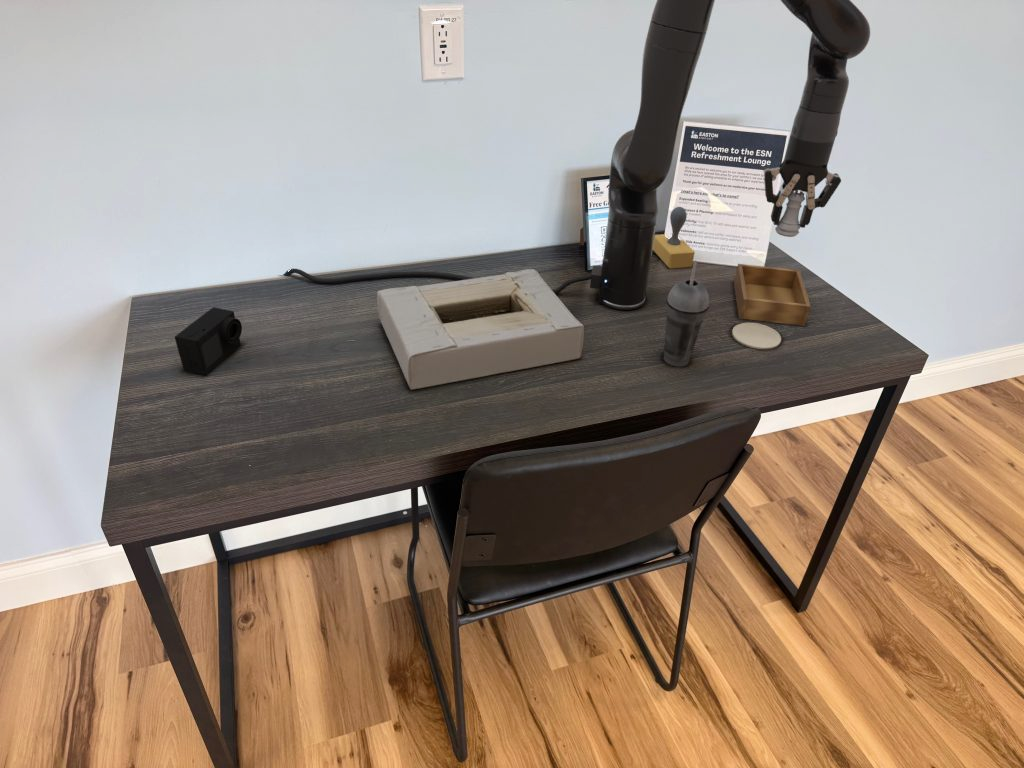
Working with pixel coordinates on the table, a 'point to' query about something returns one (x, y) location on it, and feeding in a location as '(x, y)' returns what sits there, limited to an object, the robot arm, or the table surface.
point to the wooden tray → (771, 295)
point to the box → (477, 327)
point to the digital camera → (208, 340)
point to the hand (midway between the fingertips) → (788, 224)
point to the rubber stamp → (674, 243)
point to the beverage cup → (684, 319)
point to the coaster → (756, 335)
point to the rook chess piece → (791, 215)
